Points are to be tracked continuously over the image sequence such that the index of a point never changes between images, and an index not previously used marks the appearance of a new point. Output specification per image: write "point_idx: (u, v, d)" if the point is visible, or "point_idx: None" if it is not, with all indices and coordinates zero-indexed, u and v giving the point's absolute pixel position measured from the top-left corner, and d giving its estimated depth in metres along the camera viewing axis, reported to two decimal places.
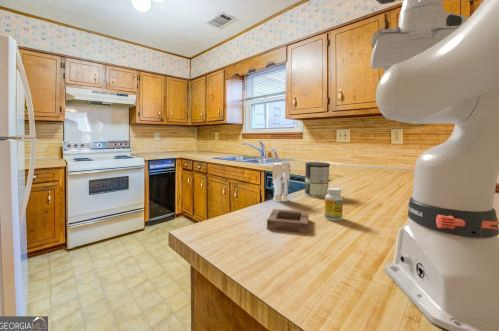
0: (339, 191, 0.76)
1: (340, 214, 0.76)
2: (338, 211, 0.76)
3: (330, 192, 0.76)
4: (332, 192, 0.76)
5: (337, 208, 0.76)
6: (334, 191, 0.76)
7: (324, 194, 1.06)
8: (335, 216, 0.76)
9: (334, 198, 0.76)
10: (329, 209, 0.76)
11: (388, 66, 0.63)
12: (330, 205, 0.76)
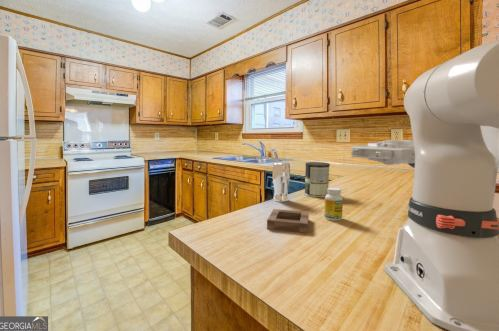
0: (339, 191, 0.76)
1: (340, 214, 0.76)
2: (338, 211, 0.76)
3: (330, 192, 0.76)
4: (332, 192, 0.76)
5: (337, 208, 0.76)
6: (334, 191, 0.76)
7: (324, 194, 1.06)
8: (335, 216, 0.76)
9: (334, 198, 0.76)
10: (329, 209, 0.76)
11: (391, 158, 0.79)
12: (330, 205, 0.76)
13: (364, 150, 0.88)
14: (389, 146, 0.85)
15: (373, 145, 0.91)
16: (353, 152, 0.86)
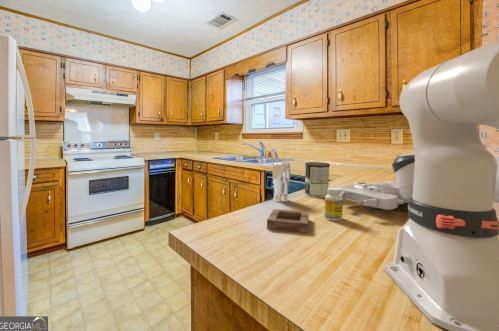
0: (339, 191, 0.76)
1: (340, 214, 0.76)
2: (338, 211, 0.76)
3: (330, 192, 0.76)
4: (332, 192, 0.76)
5: (337, 208, 0.76)
6: (334, 191, 0.76)
7: (324, 194, 1.06)
8: (335, 216, 0.76)
9: (334, 198, 0.76)
10: (329, 209, 0.76)
11: (376, 206, 0.79)
12: (330, 205, 0.76)
13: (350, 193, 0.88)
14: (375, 190, 0.86)
15: (359, 187, 0.91)
16: None
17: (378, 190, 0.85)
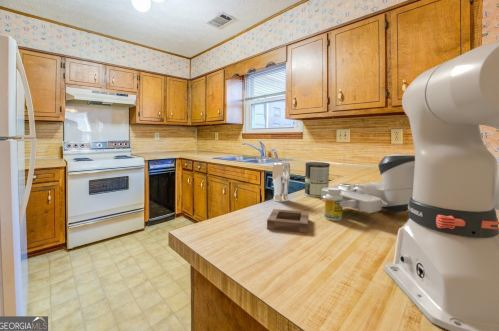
0: (339, 191, 0.76)
1: (340, 214, 0.76)
2: (338, 211, 0.76)
3: (330, 192, 0.76)
4: (332, 192, 0.76)
5: (337, 208, 0.76)
6: (334, 191, 0.76)
7: None
8: (335, 215, 0.76)
9: (334, 198, 0.76)
10: (329, 209, 0.76)
11: (358, 209, 0.75)
12: (330, 205, 0.76)
13: None
14: (358, 192, 0.81)
15: (343, 188, 0.87)
16: (324, 198, 0.80)
17: (362, 192, 0.81)
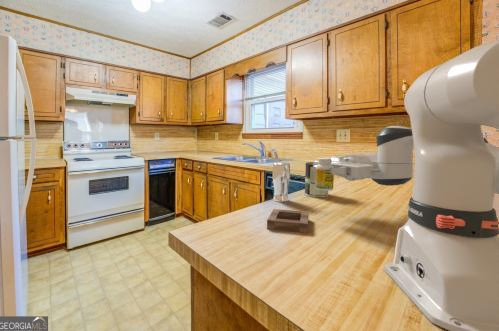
0: (330, 160, 0.74)
1: (331, 184, 0.75)
2: (329, 181, 0.74)
3: (320, 161, 0.75)
4: (323, 161, 0.74)
5: (327, 178, 0.74)
6: (324, 160, 0.74)
7: (324, 194, 1.06)
8: (326, 185, 0.74)
9: (324, 167, 0.74)
10: (320, 178, 0.75)
11: (349, 176, 0.73)
12: (321, 174, 0.74)
13: None
14: (350, 161, 0.79)
15: (335, 159, 0.85)
16: (315, 168, 0.79)
17: (354, 161, 0.79)
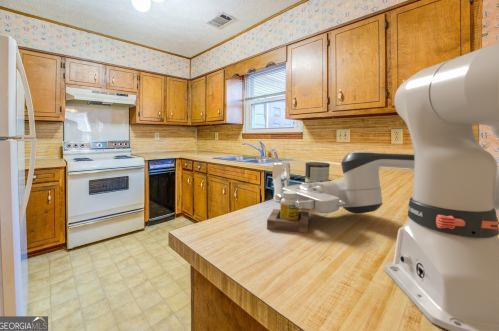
0: (294, 195, 0.71)
1: (295, 219, 0.71)
2: (293, 217, 0.70)
3: (285, 196, 0.71)
4: (287, 196, 0.71)
5: (291, 213, 0.70)
6: (288, 195, 0.70)
7: None
8: None
9: (288, 202, 0.70)
10: (284, 214, 0.71)
11: (313, 209, 0.69)
12: (284, 209, 0.71)
13: None
14: (317, 191, 0.76)
15: (304, 187, 0.81)
16: (278, 197, 0.76)
17: (321, 191, 0.75)
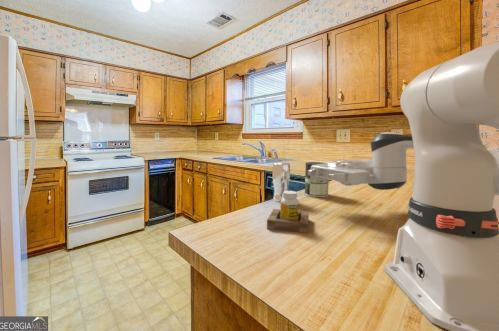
0: (294, 195, 0.71)
1: (295, 219, 0.71)
2: (293, 217, 0.70)
3: (285, 196, 0.71)
4: (287, 196, 0.71)
5: (291, 213, 0.70)
6: (289, 195, 0.70)
7: (324, 194, 1.06)
8: None
9: (288, 202, 0.70)
10: (284, 214, 0.71)
11: (345, 181, 0.75)
12: (284, 209, 0.71)
13: (322, 170, 0.84)
14: (346, 167, 0.82)
15: (332, 164, 0.87)
16: (309, 172, 0.82)
17: (350, 166, 0.82)
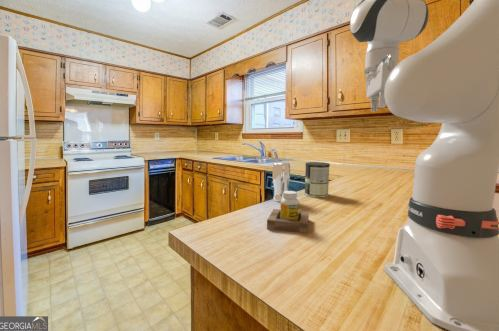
0: (294, 195, 0.71)
1: (295, 219, 0.71)
2: (293, 217, 0.70)
3: (285, 196, 0.71)
4: (287, 196, 0.71)
5: (291, 213, 0.70)
6: (288, 195, 0.70)
7: (324, 194, 1.06)
8: None
9: (288, 202, 0.70)
10: (284, 214, 0.71)
11: None
12: (284, 209, 0.71)
13: (373, 94, 0.80)
14: (373, 73, 0.74)
15: (368, 77, 0.81)
16: None
17: (373, 70, 0.74)
